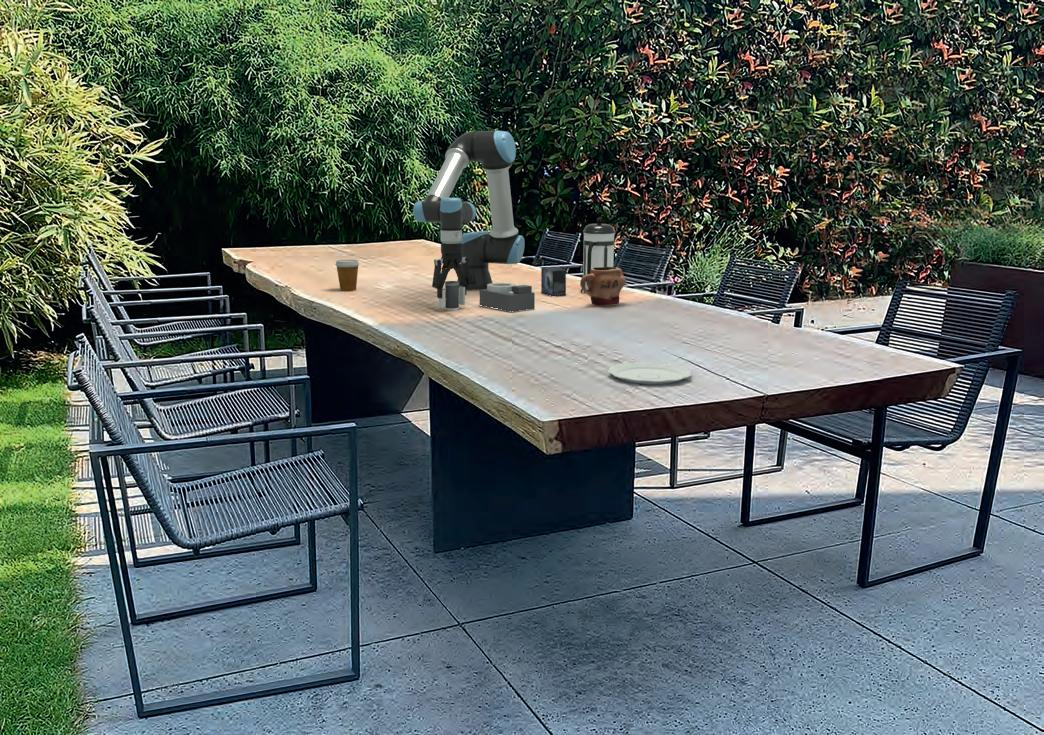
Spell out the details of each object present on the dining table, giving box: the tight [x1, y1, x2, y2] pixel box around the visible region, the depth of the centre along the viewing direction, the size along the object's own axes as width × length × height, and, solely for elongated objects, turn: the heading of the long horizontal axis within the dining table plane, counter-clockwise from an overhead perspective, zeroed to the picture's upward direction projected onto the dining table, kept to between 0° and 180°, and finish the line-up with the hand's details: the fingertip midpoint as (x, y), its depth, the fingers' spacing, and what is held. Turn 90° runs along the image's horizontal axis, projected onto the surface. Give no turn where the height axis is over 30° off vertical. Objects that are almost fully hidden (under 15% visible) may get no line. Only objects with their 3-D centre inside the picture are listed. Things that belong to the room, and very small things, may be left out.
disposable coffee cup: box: [335, 259, 360, 292], centre depth 381 cm, size 10×10×12 cm
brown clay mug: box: [579, 266, 627, 307], centre depth 347 cm, size 20×12×14 cm, turn 128°
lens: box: [444, 280, 460, 312], centre depth 336 cm, size 5×5×10 cm
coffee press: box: [580, 216, 616, 294], centre depth 376 cm, size 17×16×30 cm
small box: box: [540, 266, 567, 297], centre depth 373 cm, size 11×6×10 cm, turn 25°
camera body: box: [478, 282, 536, 313], centre depth 341 cm, size 18×11×8 cm, turn 41°
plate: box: [607, 361, 692, 385], centre depth 239 cm, size 21×21×2 cm
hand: (452, 305), depth 337 cm, fingers open, 8 cm apart
